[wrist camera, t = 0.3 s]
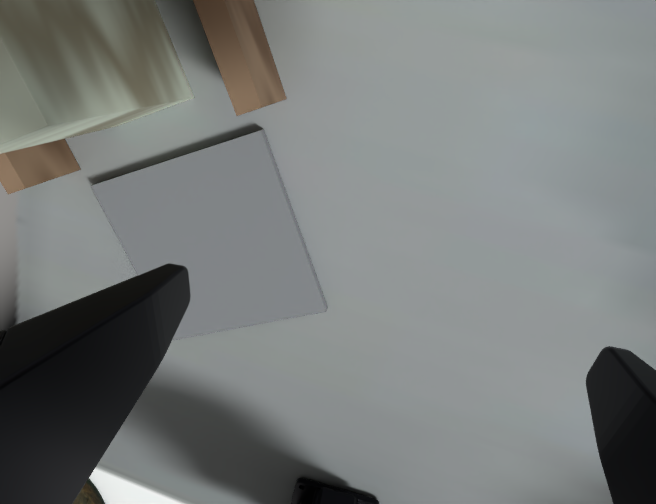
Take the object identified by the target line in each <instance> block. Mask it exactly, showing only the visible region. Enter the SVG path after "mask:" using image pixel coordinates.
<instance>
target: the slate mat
mask: <svg viewBox="0 0 656 504" xmlns="http://www.w3.org/2000/svg"><path fill="white" fill-rule="evenodd" d="M91 188H92V190H93V192H94V193H95V195H96V197H97V199H98V201H99V203H100V205H101V207H102V208H103V210H104V212H105V214H106V216H107V218H108V220H109V222H110V224H111V225H112V227H113V229H114V231H115V233H116V235H117V237H118V239H119V241H120V242H121V244H122V246H123V248H124V250H125V252H126V254H127V256H128V257H129V259H130V261H131V263H132V265H133V267H134V269H135V271H136V273H137V274H138V275H140V274H143V273H145V272H148V271H150V270H153V269H155V268H158V267H160V266H163V265H165V264H168V263H172V264H177V265H183V266H185V267H186V268H187V269H188V273H189V283H190V294H191V297H190V303H189V306H188V308H187V310H186V312H185V314H184V316H183V318H182V320H181V322H180V324H179V327H178V329H177V331H176V333H175V335H174V337H173V339H172V340H177V339H183V338H188V337H193V336H199V335H204V334H209V333H215V332H220V331H225V330H231V329H236V328H241V327H246V326H252V325H257V324H262V323H268V322H273V321H278V320H284V319H289V318H294V317H300V316H305V315H310V314H316V313H321V312H326V311H327V308H328V306H327V304H326V301H325V298H324V295H323V292H322V290H321V287H320V284H319V281H318V279H317V276H316V273H315V270H314V268H313V265H312V262H311V259H310V257H309V254H308V251H307V248H306V245H305V243H304V240H303V237H302V234H301V232H300V229H299V226H298V223H297V221H296V218H295V215H294V212H293V209H292V207H291V204H290V201H289V198H288V196H287V193H286V190H285V187H284V185H283V182H282V179H281V176H280V173H279V171H278V168H277V165H276V162H275V160H274V157H273V154H272V151H271V149H270V146H269V143H268V140H267V138H266V135H265V132H264V129H262V130H259V131H256V132H253V133H250V134H247V135H244V136H240V137H237V138H234V139H231V140H228V141H225V142H222V143H219V144H216V145H213V146H210V147H207V148H204V149H201V150H198V151H195V152H191V153H188V154H185V155H182V156H179V157H176V158H173V159H170V160H167V161H164V162H161V163H158V164H155V165H152V166H149V167H146V168H143V169H139V170H136V171H133V172H130V173H127V174H124V175H121V176H118V177H115V178H112V179H109V180H106V181H103V182H100V183H97V184H94V185H92V186H91Z"/></svg>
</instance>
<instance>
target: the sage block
mask: <svg viewBox="0 0 656 504" xmlns="http://www.w3.org/2000/svg"><path fill="white" fill-rule="evenodd" d="M193 98H194V95H193V93H192V91H191V88H190V86H189V83H188V81H187V78H186V76H185V73H184V71H183V69H182V66H181V64H180V61H179V59H178V56H177V54H176V51H175V49H174V46H173V44H172V42H171V39H170V37H169V34H168V32H167V29H166V27H165V24H164V22H163V20H162V17H161V15H160V12H159V10H158V7H157V5H156V2H155V0H0V154H2V153H6V152H10V151H14V150H19V149H23V148H27V147H31V146H36V145H40V144H44V143H48V142H53V141H57V140H61V139H65V138H69V137H74V136H78V135H82V134H86V133H91V132H95V131H99V130H103V129H108V128H112V127H116V126H119V125H122V124H125V123H127V122H130V121H133V120H136V119H138V118H141V117H144V116H146V115H149V114H152V113H155V112H157V111H160V110H163V109H165V108H168V107H171V106H174V105H176V104H179V103H182V102H185V101H187V100H190V99H193Z"/></svg>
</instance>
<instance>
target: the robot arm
mask: <svg viewBox="0 0 656 504" xmlns="http://www.w3.org/2000/svg"><path fill="white" fill-rule="evenodd" d="M190 297H191V294H190V283H189V273H188V269H187V268H186V267H185V266H183V265H177V264H172V263H168V264H165V265H163V266H160V267H158V268H155V269H153V270H150V271H148V272H145V273H143V274H140V275H138V276H135V277H133V278H131V279H128V280H126V281H123V282H121V283H118V284H116V285H113V286H111V287H108V288H106V289H103V290H101V291H98V292H96V293H93V294H91V295H89V296H86V297H84V298H81V299H79V300H76V301H74V302H71V303H69V304H66V305H64V306H61V307H59V308H56V309H54V310H51V311H49V312H46V313H44V314H42V315H39V316H37V317H34V318H32V319H29V320H27V321H24V322H22V323H19V324H17V325H14V326H12V327H9V328H8V330H7V331H6V330H2V331H0V504H73V502H74V501H75V499H76V497H77V496H78V494H79V493H80V491H81V489H82V488H83V486H84V485H85V483H86V481H87V480H88V478H89V477H90V475H91V473H92V472H93V470H94V469H95V467H96V466H97V464H98V462H99V461H100V459H101V458H102V456H103V454H104V453H105V451H106V450H107V448H108V446H109V445H110V443H111V442H112V440H113V438H114V437H115V435H116V434H117V432H118V430H119V429H120V427H121V426H122V424H123V422H124V421H125V419H126V418H127V416H128V414H129V413H130V411H131V410H132V408H133V406H134V405H135V403H136V402H137V400H138V399H139V397H140V395H141V394H142V392H143V391H144V389H145V387H146V386H147V384H148V383H149V381H150V379H151V378H152V376H153V375H154V373H155V371H156V370H157V368H158V366H159V365H160V363H161V361H162V359H163V357H164V356H165V354H166V352H167V350H168V347H169V345H170V343H171V341H172V339H173V337H174V335H175V333H176V331H177V329H178V327H179V324H180V322H181V320H182V318H183V316H184V314H185V312H186V310H187V308H188V306H189V303H190ZM586 387H587V393H588V398H589V404H590V409H591V415H592V420H593V426H594V431H595V437H596V442H597V447H598V452H599V456H600V460H601V463H602V467H603V470H604V474H605V477H606V480H607V484H608V487H609V490H610V494H611V497H612V500H613V503H614V504H656V370H654V369H653V368H652V367H651V366H649V365H648V364H647V363H645V362H644V361H643V360H641V359H640V358H639V357H637V356H636V355H635V354H633V353H632V352H631V351H629V350H626V349H621V348H616V347H610V346H609V347H605V348H604V349H602V351H601V352H600V354H599V355H598V357H597V359H596V360H595V362H594V364H593V365H592V367H591V369H590V370H589V372H588V374H587V377H586ZM291 504H379V501H378V500H376V499H374V498H370V497H367V496H363V495H360V494H356V493H353V492H350V491H346V490H343V489H339V488H336V487H332V486H329V485H325V484H322V483H318V482H315V481H311V480H308V479H305V478H299V479H297V482H296V485H295V490H294V494H293V498H292V502H291Z"/></svg>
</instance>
